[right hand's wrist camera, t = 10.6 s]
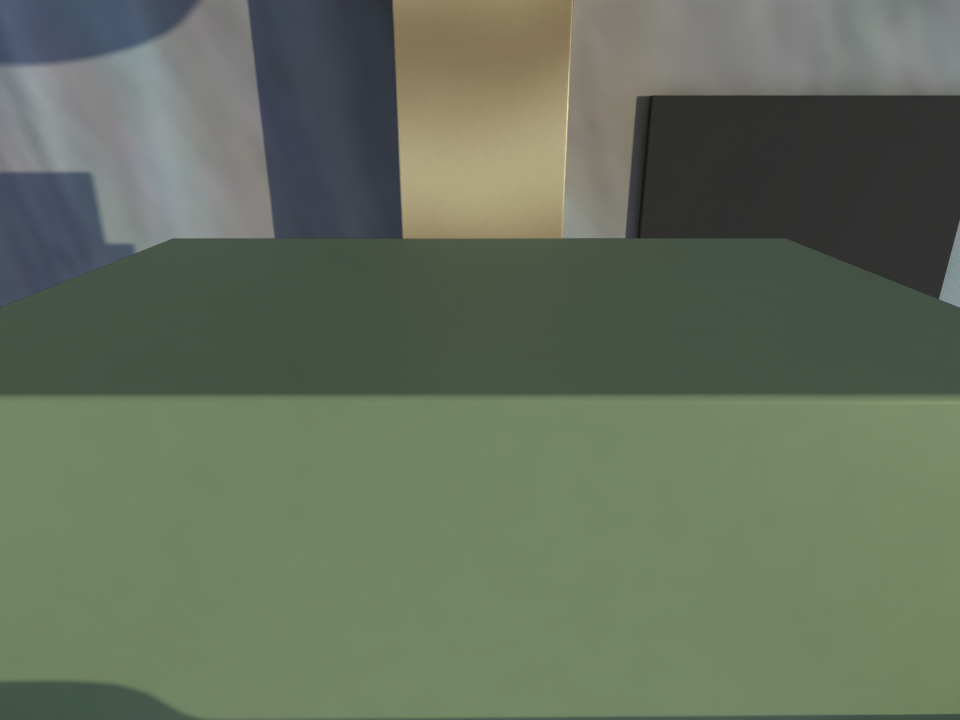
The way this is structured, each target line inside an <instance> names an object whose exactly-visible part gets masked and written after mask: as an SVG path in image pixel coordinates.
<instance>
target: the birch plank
mask: <svg viewBox="0 0 960 720" xmlns="http://www.w3.org/2000/svg"><path fill="white" fill-rule="evenodd" d="M392 13H393V36H394V59H395V82H396V106H397V129H398V152H399V175H400V198H401V221H402V239H403V238H563V216H564V195H565V173H566V151H567V129H568V108H569V86H570V64H571V43H572V21H573V0H392Z"/></svg>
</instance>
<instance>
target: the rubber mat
mask: <svg viewBox="0 0 960 720" xmlns="http://www.w3.org/2000/svg"><path fill="white" fill-rule="evenodd" d="M959 221H960V96H650V104H649V116H648V127H647V138H646V150H645V161H644V172H643V184H642V195H641V207H640V218H639V229H638V238H785V239H788V240H790V241H793V242H796V243H798V244H801V245H803V246H806V247H808V248H811V249H813V250H816V251H818V252H821V253H823V254H826V255H828V256H831V257H833V258H836V259H838V260H841V261H843V262H846V263H848V264H851V265H853V266H856V267H858V268H861V269H863V270H866V271H869V272H871V273H874V274H876V275H879V276H881V277H884V278H886V279H889V280H891V281H894V282H896V283H899V284H901V285H904V286H906V287H909V288H911V289H914V290H916V291H919V292H921V293H924V294H926V295H929V296H931V297H934V298H937V299H939V296H940V292H941V289H942V285H943V281H944V277H945V273H946V270H947V266H948V262H949V258H950V255H951V251H952V247H953V243H954V239H955V236H956V232H957V228H958V224H959Z"/></svg>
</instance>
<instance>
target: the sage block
mask: <svg viewBox="0 0 960 720" xmlns="http://www.w3.org/2000/svg"><path fill="white" fill-rule="evenodd" d="M0 720H960V308H959V307H957V306H954V305H952V304H949V303H947V302H944V301H942V300H939V299H937V298H934V297H931V296H929V295H926V294H924V293H921V292H919V291H916V290H914V289H911V288H909V287H906V286H904V285H901V284H899V283H896V282H894V281H891V280H889V279H886V278H884V277H881V276H879V275H876V274H874V273H871V272H869V271H866V270H863V269H861V268H858V267H856V266H853V265H851V264H848V263H846V262H843V261H841V260H838V259H836V258H833V257H831V256H828V255H826V254H823V253H821V252H818V251H816V250H813V249H811V248H808V247H806V246H803V245H801V244H798V243H796V242H793V241H790V240H788V239H785V238H403V239H171V240H168V241H166V242H163V243H161V244H158V245H156V246H153V247H151V248H148V249H146V250H143V251H141V252H138V253H136V254H133V255H131V256H128V257H125V258H123V259H120V260H118V261H115V262H113V263H110V264H108V265H105V266H103V267H100V268H98V269H95V270H93V271H90V272H88V273H85V274H83V275H80V276H78V277H75V278H73V279H70V280H68V281H65V282H63V283H60V284H58V285H55V286H53V287H50V288H48V289H45V290H43V291H40V292H38V293H35V294H33V295H30V296H28V297H25V298H23V299H20V300H18V301H15V302H13V303H10V304H8V305H5V306H3V307H0Z"/></svg>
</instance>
